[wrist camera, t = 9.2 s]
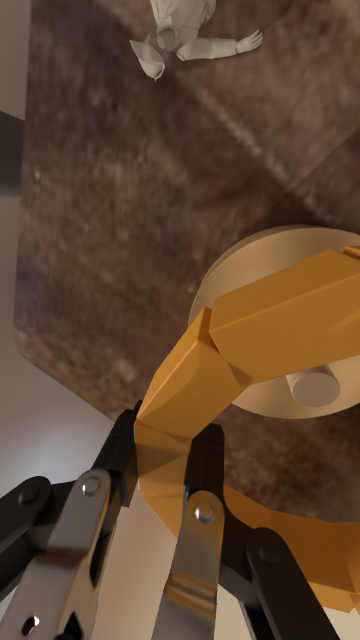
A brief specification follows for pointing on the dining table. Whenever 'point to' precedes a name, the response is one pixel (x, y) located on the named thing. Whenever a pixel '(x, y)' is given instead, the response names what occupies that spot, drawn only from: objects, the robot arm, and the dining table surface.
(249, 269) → the ring stand
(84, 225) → the dining table surface
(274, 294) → the ring
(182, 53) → the soldier figure
